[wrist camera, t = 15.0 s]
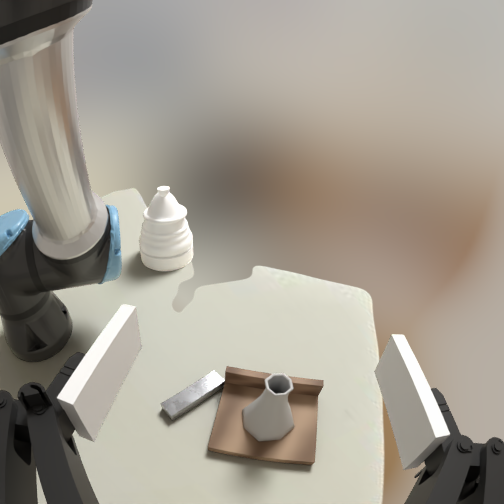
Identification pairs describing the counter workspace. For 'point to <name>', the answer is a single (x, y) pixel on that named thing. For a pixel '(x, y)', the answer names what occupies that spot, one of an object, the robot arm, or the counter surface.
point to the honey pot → (165, 234)
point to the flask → (270, 410)
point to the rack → (283, 450)
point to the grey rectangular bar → (193, 395)
